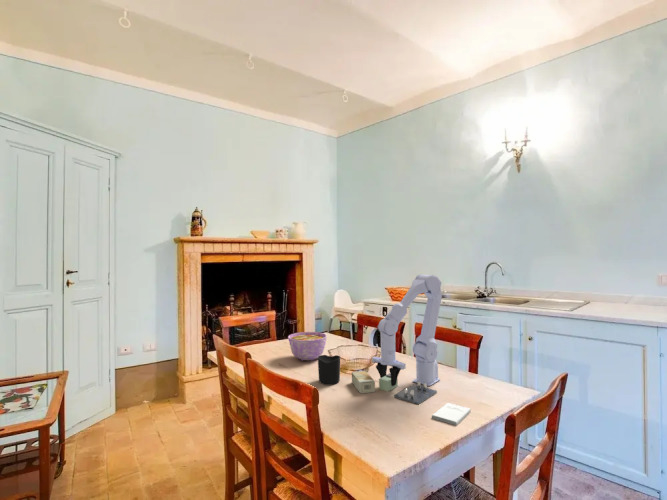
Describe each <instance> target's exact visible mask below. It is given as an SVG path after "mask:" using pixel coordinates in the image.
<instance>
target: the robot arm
mask: <svg viewBox="0 0 667 500" xmlns="http://www.w3.org/2000/svg"><path fill="white" fill-rule="evenodd" d="M441 287H442V281H441V280H440V278H439V277H438V276H437V275H434V274H432V275H431V274H422V273H420V274H418V275H416V277H415V278H414V279H413V280H412V282H411V285H410V287H409V288H408V290H407V292H406V294H404V297H403V298H402V299H401V300H400V302H399V303H395V304H394V305H392V306H391V310H389V312H388V314H386V315H385V316H384V318H382V319H381V320H380V321H379V323H378V325H377V329H378V331H379V333H380V357H378V356H373V357H371V363H373V364H375V363H376V364H377V365H375V368H376V370H377V372H378V374H379V378H382V377H384V376H386V375H387V371H388V370H389V374H390V375H391V385H392V386H394V385H396V381H397V380H398V376H399V374H400V372H401V370H406V368H407V367H406V363H404V362H402V361H399V360H397V358H396V357H397V356H396V333H397V332H398V330H399V325H400V323H401V322H402V320H403V319H404V318H405V316H406V315H407V314H408V308H409V307H410V305H411V304H412V303H413V302H414V300H415V299H416V298H417V297H418V295H421V294H424V295H425V296H426V298H427V299H426V306H425V310H424V314H423V315H424V316H423V319H422V326H421V332H420V335H418V336H417V337H416V339H415V342H414V344H413V346H412V352H413V353H412V354H414V355H415V363H416V364H415V369H416V370H415V371H416V378H415V379H412V381H411V382H413V383H416V384H417V382H418V381H420V382H421V385H423V383H427V386H428V387H430V386H432V385H434V384H436V383H437V382H440V380H441V378H439V363H438V362H437V360H436V359H437V358H438V355H439V354H438V353H439V351H438V349H437V348H438V343H437V340H436V339H435V335H436V330H437V325H438V320H439V319H438V318H439V314H440V310H441V304H442V298H443V296H442V295H443V294H442V290H441ZM388 367H390V368H389V369H388Z"/></svg>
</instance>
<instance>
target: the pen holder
mask: <svg viewBox="0 0 667 500" xmlns="http://www.w3.org/2000/svg"><path fill="white" fill-rule="evenodd" d="M317 366H318V367H317V368H318V369H317V370H318V382H319V383H320V384H322V385H328V386H329V385H330V386H331V385H332V386H333V385H336V384H338V383H339V382H340V379H341V378H340V377H341V357H340V355H333V356H332V355H331V356H330V355H326V354H321V356H319V357H317Z"/></svg>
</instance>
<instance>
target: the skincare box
mask: <svg viewBox="0 0 667 500" xmlns="http://www.w3.org/2000/svg"><path fill="white" fill-rule="evenodd" d="M351 383H352V384H353V385H354V387H355V388H356V390H357V391H358V393H359V394H366V393H367V394H368V393H375V392H376V384H375V383H376V381H375V380H374V379H373V378H372V376H370V374H369V373H368V372H367V371H362V370H361V371H353V372H351Z"/></svg>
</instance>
